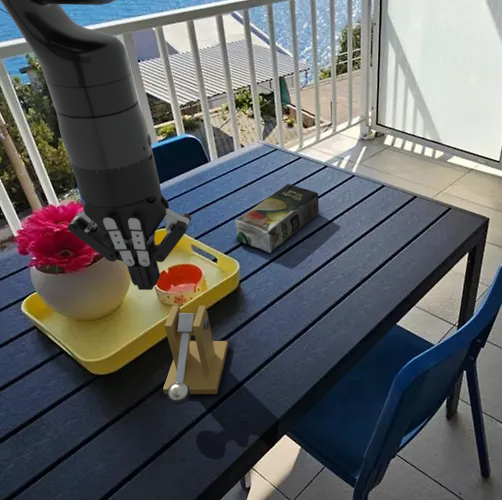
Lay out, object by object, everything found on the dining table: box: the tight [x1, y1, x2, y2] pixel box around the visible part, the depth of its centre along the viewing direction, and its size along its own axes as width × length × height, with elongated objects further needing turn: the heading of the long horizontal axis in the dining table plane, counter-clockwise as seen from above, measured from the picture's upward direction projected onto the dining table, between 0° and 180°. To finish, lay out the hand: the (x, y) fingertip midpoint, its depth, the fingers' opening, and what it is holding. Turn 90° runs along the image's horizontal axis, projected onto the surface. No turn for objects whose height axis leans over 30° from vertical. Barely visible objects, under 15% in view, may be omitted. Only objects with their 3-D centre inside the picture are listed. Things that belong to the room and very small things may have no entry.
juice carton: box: [235, 183, 320, 254], centre depth 112 cm, size 20×10×6 cm, turn 150°
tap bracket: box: [162, 304, 229, 395], centre depth 77 cm, size 10×8×12 cm
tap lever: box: [166, 312, 196, 406], centre depth 73 cm, size 13×3×3 cm
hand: (148, 285), depth 59 cm, fingers closed
